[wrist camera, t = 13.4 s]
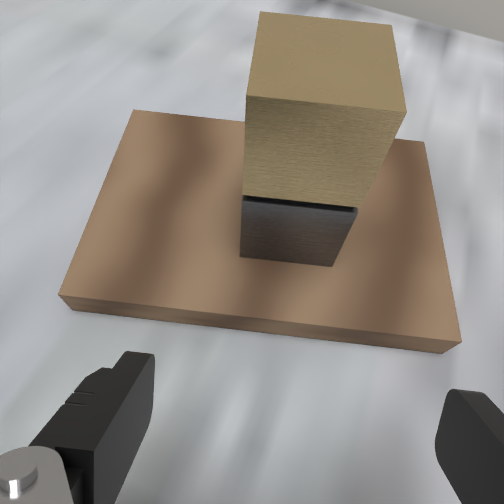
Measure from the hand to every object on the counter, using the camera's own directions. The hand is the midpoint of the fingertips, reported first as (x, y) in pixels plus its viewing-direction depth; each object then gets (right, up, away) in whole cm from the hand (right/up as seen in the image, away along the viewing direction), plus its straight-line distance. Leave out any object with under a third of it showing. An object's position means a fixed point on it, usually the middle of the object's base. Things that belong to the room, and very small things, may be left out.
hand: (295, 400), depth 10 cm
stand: (0, +6, +14) cm, 15 cm away
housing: (+1, +6, +11) cm, 13 cm away
